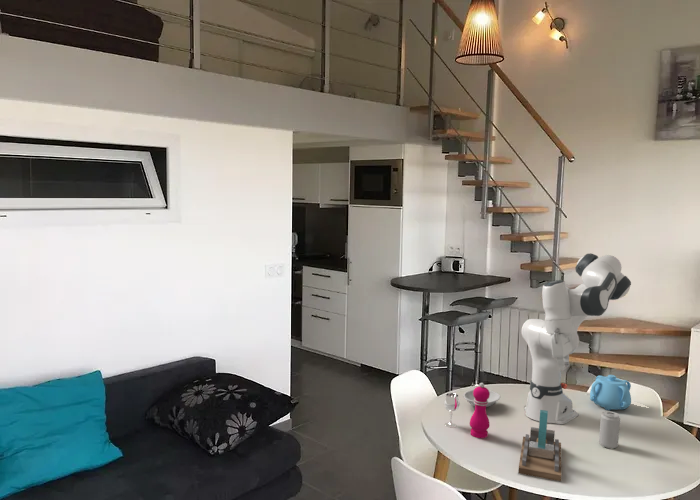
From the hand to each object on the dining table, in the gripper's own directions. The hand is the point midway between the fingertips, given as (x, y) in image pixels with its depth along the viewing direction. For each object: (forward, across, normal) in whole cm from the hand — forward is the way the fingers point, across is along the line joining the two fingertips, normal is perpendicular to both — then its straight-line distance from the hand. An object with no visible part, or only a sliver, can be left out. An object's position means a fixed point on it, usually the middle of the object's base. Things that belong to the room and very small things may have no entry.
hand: (564, 368), depth 198 cm
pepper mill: (+24, +7, +34) cm, 42 cm away
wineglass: (+21, +10, +46) cm, 52 cm away
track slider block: (+28, -3, +11) cm, 30 cm away
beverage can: (+31, +24, -8) cm, 40 cm away
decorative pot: (+24, +68, -6) cm, 72 cm away
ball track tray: (+30, -2, +11) cm, 32 cm away
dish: (+19, +35, +41) cm, 57 cm away
